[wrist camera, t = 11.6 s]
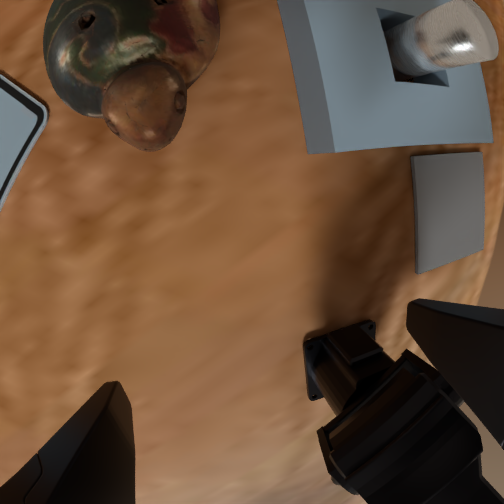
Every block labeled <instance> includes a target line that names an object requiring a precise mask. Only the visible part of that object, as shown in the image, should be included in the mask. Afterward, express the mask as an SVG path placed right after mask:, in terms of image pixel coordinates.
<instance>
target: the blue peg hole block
mask: <svg viewBox="0 0 504 504" xmlns="http://www.w3.org/2000/svg"><path fill="white" fill-rule="evenodd" d="M450 1H452V0H277V2H278V6H279V10H280V14H281V18H282V22H283V27H284V31H285V36H286V40H287V44H288V49H289V54H290V58H291V63H292V68H293V73H294V78H295V83H296V88H297V93H298V99H299V104H300V110H301V115H302V121H303V127H304V133H305V139H306V145H307V152H308V154H318V153H336V152H344V151H354V150H363V149H374V148H385V147H398V146H413V145H430V144H455V143H493V133H492V125H491V118H490V111H489V105H488V99H487V93H486V88H485V83H484V78H483V74H482V69H481V65H480V62H478V63H473V64H468V65H464V66H459V67H454V68H450V69H446V70H441V71H437V72H433V73H429V74H425V75H421V76H418V77H414V78H413V80H414V83H408V82H396V81H395V78H394V74H393V69H392V65H391V60H390V56H389V52H388V48H387V44H386V40H385V37H384V33H383V31H387V30H389V29H391V28H393V27H395V26H397V25H399V24H401V23H403V22H405V21H407V20H409V19H411V18H414V17H416V16H418V15H420V14H422V13H424V12H427V11H429V10H431V9H433V8H436V7H438V6H440V5H443V4H445V3H447V2H450Z"/></svg>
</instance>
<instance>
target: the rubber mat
mask: <svg viewBox="0 0 504 504" xmlns="http://www.w3.org/2000/svg"><path fill="white" fill-rule="evenodd" d="M410 158H411V168H412V179H413V192H414V209H415V243H416V260H415V273H416V274H421V273H424V272H427V271H429V270H432V269H435V268H437V267H440V266H443V265H445V264H448V263H451V262H453V261H456V260H458V259H461V258H463V257H466V256H469V255H471V254H473V253H476V252H478V251H481V250H483V246H484V223H485V192H484V168H483V155H482V152H465V153H449V154H435V155H422V156H411V157H410Z"/></svg>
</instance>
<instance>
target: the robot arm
mask: <svg viewBox="0 0 504 504" xmlns="http://www.w3.org/2000/svg"><path fill="white" fill-rule="evenodd" d="M369 325H370V327H368V326H369ZM406 327H407V330H408V332H409V333H410V334H411V336H412V337H413V339H414V340H415V341H416V343H417V344H418V345H419V347H420V348H421V350H422V351H423V352H424V354H425V355H426V357H427V358H428V359H429V361H430V362H431V363H432V364H433V366H434V367H435V368H436V369H437V370H438V371H437V370H436V369H435V368H434V367H432V366H431V365H429V364H428V363H426V362H425V361H423V360H422V359H421V358H419V357H418V356H416V355H415V354H413V353H412V352H411V351H409V350H408V349H406V350H405V351H404V352H403V353H402V354H401V355H402V356H401V357H400V358H399V359H398V360H397V361H396V362H395V361H394V360H393V359H392V358H390V357H389V356H388V355H387V354H386V353H385V352H384V351H383V348H382V347H381V346H380V345H379V344H378V343H377V342H376V341H375V330H376V325H375V322H373V321H372V320H367V321H364V322H361V323H358V324H354V325H351V326H348V327H345V328H342V329H339V330H336V331H333V332H330V333H329V334H326V335H323V336H319V337H316V338H313V339H310V340H307V341H306V342H304V344H303V354H304V363H305V373H306V383H307V394H308V398H309V399H310V400H311V401H315V400H318V399H321V398H323V397H324V398H325V399H326V401H327V402H328V404H329V405H330V407H331V409H332V410H333V412H334V413H335V415H336V417H335V418H334V419H333V420H331V421H330V422H329V423H328V424H327V425H325V426H324V427H323V426H322V427H321V428H320V429H318V430H317V434H318V438H319V443H320V447H321V450H322V453H323V457H324V460H325V463H326V467H327V470H328V473H329V474H330V475H331V480H332V481H333V483H334V484H336V485H341V486H342V487H343V488H344V489H346V490H347V491H348V492H350V493H352V494H354V495H358V494H359V495H360V496H361V497H362V498H363V499H364V500H365V501H366V502H367V503H368V504H504V498H502V496H501V495H500V494H499V493H498V492H497V491H496V490H495V489H494V488H493V487H492V486H491V485H490V484H489V482H488V481H487V480H486V479H485V478H484V477H483V476H482V467H481V453H482V452H483V446H482V442H481V436H480V434H479V433H478V430H477V427H476V426H475V425H474V424H473V423H472V421H471V420H470V419H469V418H468V417H467V416H466V415H465V414H464V413H463V412H462V411H461V410H460V408H459V407H460V406H461V405H462V403H463V402H464V401H465V403H466V404H467V405H468V406H469V407H470V409H471V410H472V411H473V412H474V413H475V415H476V416H477V417H478V418H479V420H480V421H481V422H482V423H483V424H484V426H485V427H486V428H487V429H488V431H489V432H490V433H491V434H492V436H493V437H494V438H495V439H496V441H497V442H498V443H499V444H500V446H502V449H503V450H504V309H496V308H488V307H481V306H473V305H465V304H458V303H450V302H443V301H435V300H428V299H421V298H419V299H416V300H413V301H411V302H409V303H408V306H407V319H406ZM309 345H311V347H309V348H308V346H309ZM313 395H314V396H313ZM0 504H135V443H134V432H133V420H132V408H131V404H130V401H129V399H128V397H127V395H126V393H125V391H124V389H123V387H122V385H121V384H120V382H118V381H112V382H106V383H104V384H103V385H102V386H101V387H100V388H99V389H98V390H97V391H96V392H95V393H94V394H93V395H92V396H91V397H90V399H89V400H88V401H87V402H86V403H85V404H84V405H83V406H82V407H81V408H80V409H79V410H78V411H77V412H76V413H75V414H74V415H73V416H72V417H71V418H70V419H69V420H68V421H67V422H66V423H65V424H64V425H63V426H62V427H61V428H60V429H59V430H58V431H57V432H56V433H55V434H54V435H53V436H52V437H51V438H50V439H49V441H48V442H47V443H46V444H45V445H44V446H43V447H42V448H41V449H40V450H39V451H38V454H37V453H36V454H35V455H34V456H33V457H32V458H31V459H30V460H29V461H28V462H27V463H26V464H25V465H24V466H23V467H22V468H21V469H20V470H19V471H18V472H17V473H16V474H15V475H14V476H13V477H11V478H10V479H9V480H8V481H7V482H6V483H5V484H3V485H2V486H1V487H0Z"/></svg>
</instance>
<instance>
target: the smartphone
mask: <svg viewBox="0 0 504 504" xmlns="http://www.w3.org/2000/svg"><path fill="white" fill-rule="evenodd" d="M48 118H49V113H48V110H47V108H46V107H45V106H44V105H43V104H42V103H40V102H39V101H37V100H36V99H35V98H33V97H32V96H31V95H29V94H28V93H26V92H25V91H23V90H22V89H21V88H19V87H18V86H17V85H15V84H14V83H12V82H11V81H10V80H8V79H7V78H6V77H4V76H3V75H1V74H0V212H1V209H2V207H3V205H4V203H5V200H6V198H7V196H8V194H9V192H10V190H11V188H12V186H13V184H14V181H15V179H16V177H17V176H18V174H19V172H20V170H21V168H22V166H23V164H24V162H25V160H26V159H27V157H28V155H29V153H30V151H31V150H32V148H33V146H34V144H35V143H36V141H37V139H38V138H39V136H40V134H41V133H42V131H43V130H44V128H45V126H46V124H47V122H48Z"/></svg>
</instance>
